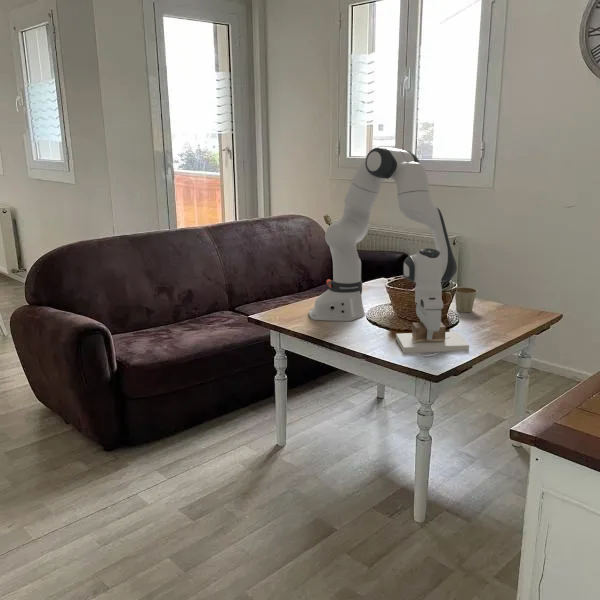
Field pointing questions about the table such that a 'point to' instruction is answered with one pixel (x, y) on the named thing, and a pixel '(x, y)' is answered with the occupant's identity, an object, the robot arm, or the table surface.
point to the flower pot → (465, 299)
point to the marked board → (432, 343)
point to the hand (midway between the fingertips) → (426, 335)
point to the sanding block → (421, 331)
